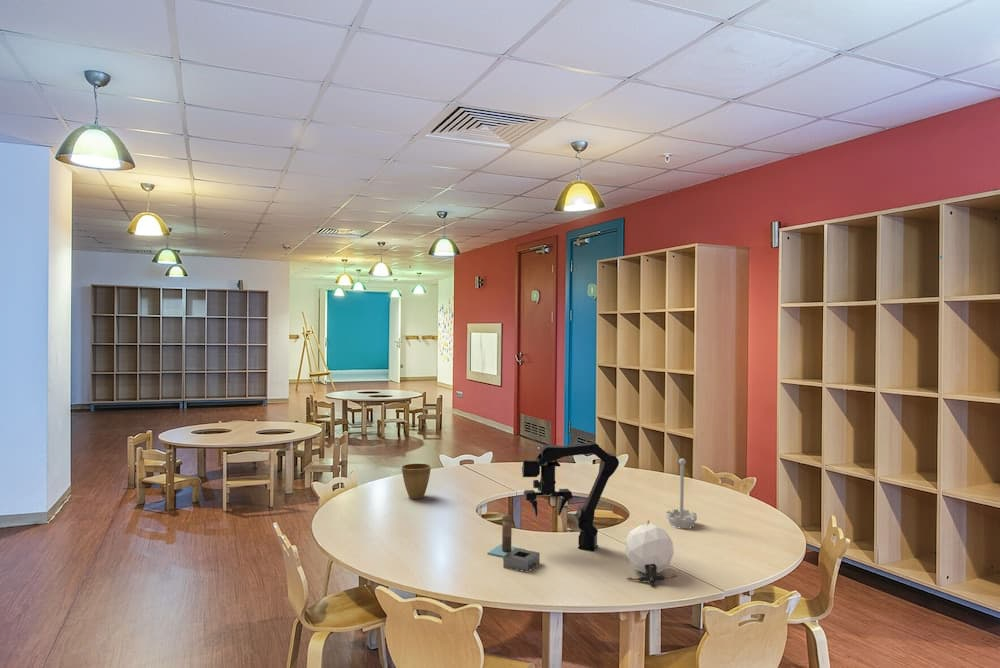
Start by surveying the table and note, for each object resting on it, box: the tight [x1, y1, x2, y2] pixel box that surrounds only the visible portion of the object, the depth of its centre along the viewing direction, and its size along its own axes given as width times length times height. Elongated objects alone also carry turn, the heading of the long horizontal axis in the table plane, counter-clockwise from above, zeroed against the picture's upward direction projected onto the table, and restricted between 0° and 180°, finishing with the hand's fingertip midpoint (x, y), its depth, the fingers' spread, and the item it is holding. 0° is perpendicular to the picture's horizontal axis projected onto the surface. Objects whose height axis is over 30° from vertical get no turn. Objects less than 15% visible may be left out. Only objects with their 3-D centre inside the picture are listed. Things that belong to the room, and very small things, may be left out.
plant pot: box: [401, 463, 432, 500], centre depth 330 cm, size 15×15×16 cm
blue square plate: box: [486, 543, 526, 558], centre depth 252 cm, size 11×11×1 cm
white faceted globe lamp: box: [625, 520, 678, 586], centre depth 230 cm, size 17×25×24 cm
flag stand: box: [666, 458, 698, 529], centre depth 289 cm, size 13×13×30 cm
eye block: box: [502, 547, 541, 572], centre depth 239 cm, size 10×10×4 cm
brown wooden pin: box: [501, 513, 513, 552], centre depth 252 cm, size 4×4×14 cm
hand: (547, 516), depth 257 cm, fingers open, 9 cm apart
